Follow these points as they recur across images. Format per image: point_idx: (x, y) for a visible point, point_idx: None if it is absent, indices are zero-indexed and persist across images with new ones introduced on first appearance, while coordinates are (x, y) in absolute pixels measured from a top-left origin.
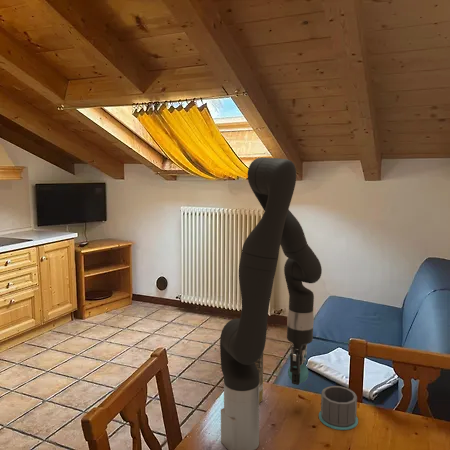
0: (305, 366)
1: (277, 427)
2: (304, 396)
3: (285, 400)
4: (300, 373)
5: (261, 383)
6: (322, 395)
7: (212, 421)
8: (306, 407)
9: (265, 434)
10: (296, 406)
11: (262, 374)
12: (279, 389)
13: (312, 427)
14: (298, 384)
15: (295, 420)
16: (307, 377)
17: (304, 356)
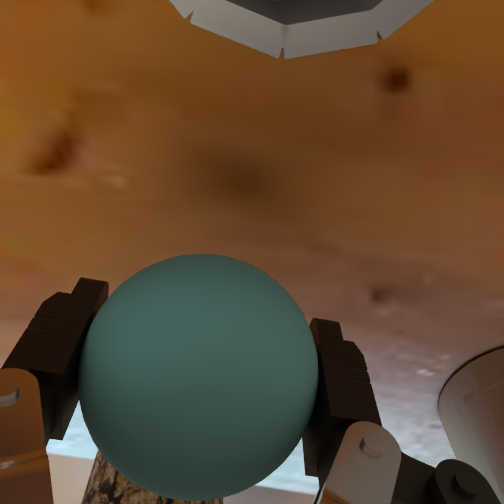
0: (189, 376)
1: (405, 276)
2: (42, 132)
3: (133, 245)
4: (312, 390)
5: None
6: (335, 49)
7: None
8: (180, 122)
9: (460, 321)
10: (183, 184)
11: (157, 498)
12: (20, 278)
13: (409, 89)
14: (336, 323)
15: (337, 191)
16: (244, 268)
17: (51, 489)
